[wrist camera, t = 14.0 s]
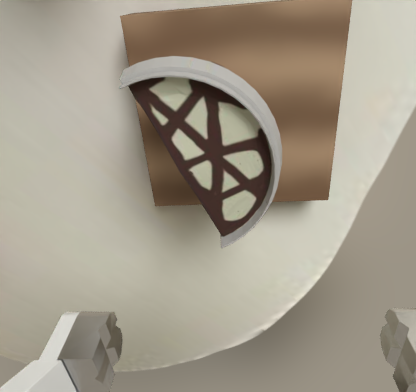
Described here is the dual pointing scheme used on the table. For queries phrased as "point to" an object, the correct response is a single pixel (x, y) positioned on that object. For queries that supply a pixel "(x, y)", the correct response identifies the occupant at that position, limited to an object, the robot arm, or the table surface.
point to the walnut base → (256, 80)
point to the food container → (213, 136)
